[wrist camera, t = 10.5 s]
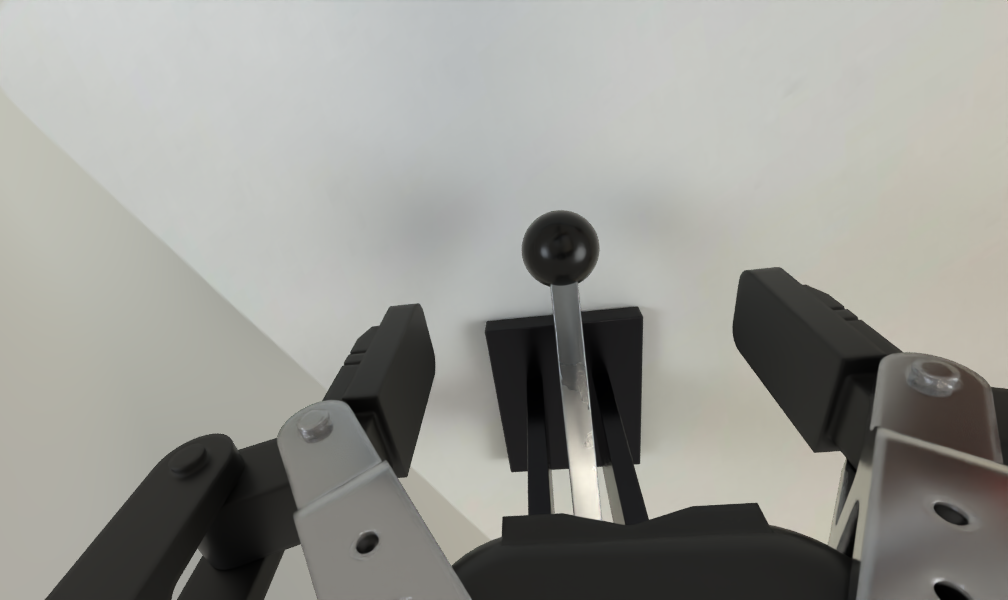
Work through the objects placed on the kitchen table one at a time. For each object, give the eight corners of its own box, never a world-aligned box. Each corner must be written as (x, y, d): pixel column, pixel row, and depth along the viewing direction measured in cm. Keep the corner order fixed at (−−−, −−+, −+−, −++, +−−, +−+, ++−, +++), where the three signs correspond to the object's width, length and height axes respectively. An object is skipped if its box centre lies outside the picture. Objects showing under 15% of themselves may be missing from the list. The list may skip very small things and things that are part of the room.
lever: (520, 222, 20) (515, 208, 17) (591, 213, 19) (599, 197, 16) (558, 592, 20) (560, 649, 17) (629, 589, 20) (645, 647, 16)
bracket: (485, 320, 26) (455, 544, 14) (638, 306, 25) (744, 530, 13) (511, 459, 32) (505, 702, 20) (636, 450, 31) (709, 700, 19)
